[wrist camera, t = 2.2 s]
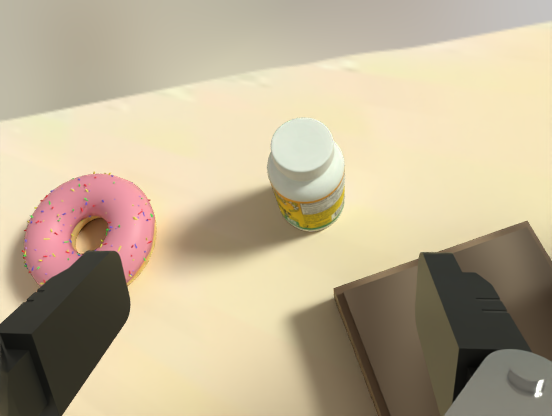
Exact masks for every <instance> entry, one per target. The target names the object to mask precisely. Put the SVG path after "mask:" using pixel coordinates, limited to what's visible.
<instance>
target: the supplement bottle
mask: <svg viewBox="0 0 552 416" xmlns="http://www.w3.org/2000/svg"><path fill="white" fill-rule="evenodd" d="M267 170H268V177H269V180H270V183H271V185H272V188H273V191H274V194H275V196H276V199H277V202H278V205H279V208H280V210H281V213H282V215H283V217H284V218H285V219H286V220H287V221H288V222H289V223H290V224H291V225H293V226H294V227H296V228H298V229H300V230H304V231H310V232H312V231H319V230H322V229H325V228H327V227H329V226H330V225H332V224H333V223H334V222H335V221H336V220H337V219H338V218H339V216H340V214H341V212H342V210H343V207H344V197H345V194H344V181H345V164H344V157H343V154H342V152H341V150H340V148H339V146H338V145H337V144H336V143H335V142H334V141H333V137H332V134H331V132H330V130H329V129H328V128H327V127H326V126H325V125H324V124H323V123H321V122H320V121H317V120H315V119H312V118H296V119H292V120H290V121H287V122H286V123H284V124H283V125H281V126H280V127H279V128H278V129H277V130H276V132H275V133H274V135H273V138H272V141H271V153H270V155H269V158H268V164H267Z"/></svg>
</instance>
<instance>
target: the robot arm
mask: <svg viewBox="0 0 552 416" xmlns="http://www.w3.org/2000/svg"><path fill="white" fill-rule="evenodd" d="M129 312H130V297H129V292H128V288H127V283H126V279H125V274H124V270H123V266H122V261H121V258H120V255H119V254H118V253H117V252H116V251H87V252H85V253H84V254H83V255H82V256H81V257H80V258H79V259H78V260H76V261H75V262H74V263H73V264H72V265H71V266H70V267H69V268H68V269H66V270H64V271H62V272H60V273H59V274H57V275H55V276H53V277H51V278H50V279H49V280H48V281H47V282H46V283H44V284H43V285H42V286H41V287H40V288H39V289H38V290H37V292H35V293H34V294H32V295H31V296H30V297H29V298H28V299H27V302H24V303H23V304H21V305H20V306H19V307H18V308H17V309H16V310H15V311H14V312H13V313H12V314H11V315H9V316H8V317H7V318H6V319H5V320H4V321H3V322H2V323H1V324H0V416H62V415H63V413H64V412H65V410H66V409H67V407H68V406H69V405H70V403H71V402H72V400H73V399H74V397H75V396H76V394H77V393H78V391H79V390H80V388H81V387H82V386H83V384H84V383H85V381H86V380H87V378H88V377H89V375H90V374H91V372H92V371H93V369H94V368H95V367H96V365H97V364H98V362H99V361H100V359H101V358H102V356H103V355H104V353H105V352H106V350H107V349H108V348H109V346H110V345H111V343H112V342H113V340H114V339H115V337H116V336H117V334H118V333H119V331H120V330H121V329H122V327H123V326H124V324H125V323H126V321H127V319H128V316H129ZM415 319H416V327H417V332H418V335H419V339H420V343H421V346H422V350H423V354H424V357H425V361H426V365H427V369H428V372H429V376H430V380H431V383H432V387H433V391H434V394H435V398H436V402H437V406H438V409H439V413H440V416H552V362H551V361H549V360H548V359H546V358H544V357H542V356H539V355H537V354H534V353H533V352H532V351H531V349H530V347H529V346H528V344H527V342H526V341H525V339H524V337H523V336H522V334H521V332H520V331H519V329H518V327H517V326H516V324H515V322H514V321H513V319H512V317H511V316H510V314H509V313H507V309H506V307H505V306H504V304H503V302H502V301H500V297H499V296H498V294H497V292H496V291H495V289H494V287H493V286H492V284H491V283H489V282H488V281H487V280H485V279H484V278H482V277H481V276H480V275H478V274H477V273H476V272H462V270H461V268H460V267H459V265H458V263H457V261H456V259H455V257H454V255H453V253H451V252H421V253H420V255H419V260H418V272H417V286H416V299H415Z"/></svg>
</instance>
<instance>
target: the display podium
mask: <svg viewBox="0 0 552 416" xmlns="http://www.w3.org/2000/svg"><path fill="white" fill-rule="evenodd" d="M439 252H451V253H453V255H454V257H455V259H456V261H457V263H458V265H459V267H460V268H461V270H462V272H476V273H477V274H478V275H480V276H481V277H482V278H484V279H485V280H487V281H488V282H489V283H491V284H492V286H493V287H494V289H495V291H496V292H497V294H498V296H499V297H500V301H502V302H503V304H504V306H505V307H506V309H507V313H509V314H510V316H511V317H512V319H513V321H514V322H515V324H516V326H517V327H518V329H519V331H520V332H521V334H522V336H523V337H524V339H525V341H526V342H527V344H528V346H529V347H530V349H531V351H532V352H533V353H534V354H537V355H539V356H542V357H544V358H546V359H548V360H549V361H551V362H552V261H551V259H550V258H549V256H548V254H547V253H546V251H545V249H544V248H543V246H542V244H541V243H540V241H539V239H538V238H537V236H536V234H535V233H534V231H533V229H532V228H531V226H530V224H529V223H528V221H525V222H522V223H519V224H516V225H513V226H511V227H508V228H505V229H502V230H499V231H496V232H493V233H491V234H488V235H485V236H482V237H479V238H476V239H473V240H471V241H468V242H465V243H462V244H459V245H456V246H453V247H451V248H448V249H445V250H442V251H439ZM418 260H419V259H416V260H413V261H411V262H408V263H405V264H402V265H399V266H396V267H393V268H391V269H388V270H385V271H382V272H379V273H376V274H373V275H371V276H368V277H365V278H362V279H359V280H356V281H353V282H351V283H348V284H345V285H342V286H339V287H336V288H334V298H335V301H336V304H337V306H338V309H339V312H340V314H341V317H342V320H343V322H344V325H345V328H346V330H347V333H348V336H349V338H350V341H351V344H352V346H353V349H354V352H355V354H356V357H357V360H358V362H359V365H360V368H361V370H362V373H363V376H364V378H365V381H366V384H367V386H368V389H369V392H370V394H371V397H372V400H373V402H374V405H375V408H376V410H377V413H378V416H440V413H439V409H438V406H437V402H436V398H435V394H434V391H433V387H432V383H431V380H430V376H429V372H428V369H427V365H426V361H425V357H424V354H423V350H422V346H421V343H420V339H419V335H418V332H417V327H416V319H415V299H416V286H417V272H418Z"/></svg>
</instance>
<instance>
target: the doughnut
mask: <svg viewBox="0 0 552 416" xmlns="http://www.w3.org/2000/svg"><path fill="white" fill-rule="evenodd" d="M110 174H111V173H109V174H106V173H105V174H95V172H94V173H93V174H89V175H84V176H81V177H77V178H75V179H74V178H73V179H72V180H70V181H67V182H65V183H64V184H62V185H60V186H59V187H57V188H56V189H54V190H52V191H51V193H49V194H48V195H46V197H45V198H44V199H43V200H40V201H42V202H41V203H40V204H39V205H38V207H35V209H36V210H35V211H34V213H33V215H31V219H30V220H29V221H27V222H28V223H29V224H28V227H27V230H24V231H26V234H25V241H24V251H23V250H22V252H24V255H23V256H25V257H23V258H24V259H25V260H26V261H25V262H24V263H25V265H24V267H27V269H29V273H31V275H32V276H33V278H34V279H35V281H36V282H37V283H38V284H39V285H40V286H42V285H43V284H44V283H46V282H47V281H48V280H49V279H50V278H51V277H53V276H55V275H57V274H59V273H60V272H62V271H64V270H66V269H68V268H69V267H70V266H71V265H72V264H73V263H74V262H75V261H76V260H78V259H79V258H80V257H81V256H82V255H83V254H80V253H78V252H77V250H76V238H77V235H78V233H79V232H80V230H81V229H82V227H83V226H84V225H85V224H86V223H88V222H89V221H91V220H93V219H96V218H103V219H105V220H106V222H107V223H108V229H106V231H107V232H106V238H105V240H104V241H103V240H101V241H102V242H103V243H102V244H101V245H100V247H99V248H97V249H96V250H95V251H116V252H117V253H118V254H119V255H120V258H121V261H122V266H123V270H124V274H125V279H126V283H127V286H128V285H129V284H130V283H132V282H133V281H134V280H135V279H136V278H137V277H138V275H139V274H140V273H141V272H142V270H143V269H144V268H145V266H146V264H147V263H148V261H149V259H150V257H151V254H152V252H153V249H154V245H155V240H156V220H155V215H154V212H153V210H152V207H151V205H150V202H149V201H150V200H148V199H147V197H146V195H145V194H144V193H143V191H142V190H141V189H140V188H138V187H137V186H136V185H135V184H133V182H130V181H128V180H125V179H122V178H120V177H117V176H113V175H110Z"/></svg>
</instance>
